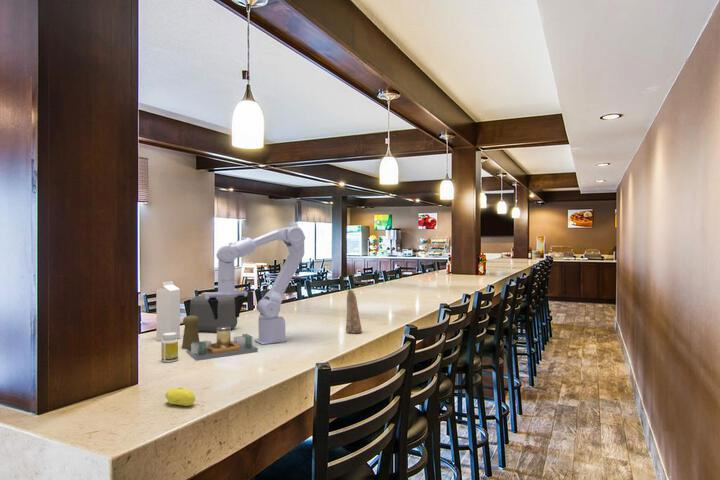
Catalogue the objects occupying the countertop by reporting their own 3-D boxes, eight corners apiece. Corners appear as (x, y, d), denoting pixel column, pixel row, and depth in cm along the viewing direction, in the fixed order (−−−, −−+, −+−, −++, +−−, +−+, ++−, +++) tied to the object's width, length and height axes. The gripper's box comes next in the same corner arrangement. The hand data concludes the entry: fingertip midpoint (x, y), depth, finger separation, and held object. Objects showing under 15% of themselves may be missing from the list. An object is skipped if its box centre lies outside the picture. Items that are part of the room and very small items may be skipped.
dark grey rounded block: (237, 328, 196) (237, 292, 196) (223, 334, 185) (223, 295, 185) (202, 327, 200) (202, 291, 200) (187, 332, 189) (187, 294, 189)
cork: (194, 349, 159) (194, 317, 159) (178, 348, 160) (178, 317, 160) (203, 345, 165) (203, 314, 165) (188, 344, 166) (188, 314, 166)
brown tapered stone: (345, 333, 189) (348, 336, 183) (338, 290, 188) (341, 292, 182) (360, 330, 191) (363, 333, 185) (353, 287, 189) (357, 289, 184)
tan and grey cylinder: (221, 346, 158) (221, 326, 158) (233, 347, 157) (233, 326, 157) (213, 349, 154) (213, 328, 154) (226, 350, 153) (226, 329, 153)
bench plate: (244, 344, 166) (244, 331, 166) (257, 351, 156) (257, 338, 156) (185, 352, 155) (185, 338, 155) (195, 360, 144) (195, 345, 144)
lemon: (186, 410, 102) (185, 393, 102) (160, 405, 106) (160, 388, 106) (200, 404, 106) (200, 387, 106) (175, 399, 110) (175, 382, 110)
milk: (156, 340, 173) (155, 281, 173) (166, 337, 179) (166, 280, 179) (170, 341, 171) (169, 282, 171) (180, 338, 177) (179, 280, 177)
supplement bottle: (181, 359, 146) (181, 332, 146) (170, 363, 141) (170, 335, 141) (169, 358, 147) (168, 331, 147) (158, 361, 143) (158, 334, 143)
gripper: (208, 281, 157) (209, 321, 157) (250, 279, 165) (250, 317, 165) (203, 280, 163) (203, 318, 163) (243, 278, 171) (243, 314, 171)
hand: (226, 317), depth 164 cm, fingers open, 7 cm apart
